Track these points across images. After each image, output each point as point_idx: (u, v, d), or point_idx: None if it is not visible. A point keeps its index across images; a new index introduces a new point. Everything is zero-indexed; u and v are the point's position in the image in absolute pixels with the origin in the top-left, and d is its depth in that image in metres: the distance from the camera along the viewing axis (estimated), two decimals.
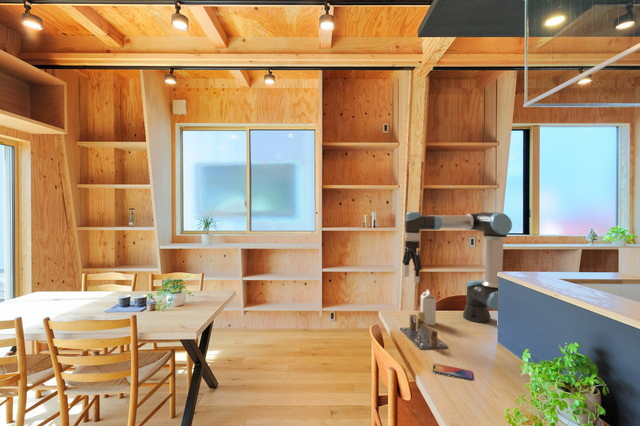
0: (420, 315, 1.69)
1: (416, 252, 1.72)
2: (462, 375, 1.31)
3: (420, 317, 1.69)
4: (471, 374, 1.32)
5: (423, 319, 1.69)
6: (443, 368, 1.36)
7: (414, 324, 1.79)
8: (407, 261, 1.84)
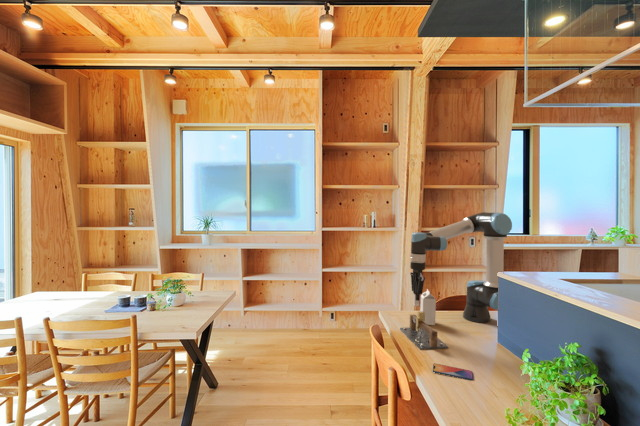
0: (420, 315, 1.69)
1: (421, 279, 1.69)
2: (462, 375, 1.31)
3: (420, 317, 1.69)
4: (471, 374, 1.32)
5: (423, 319, 1.69)
6: (443, 368, 1.36)
7: (414, 324, 1.79)
8: None
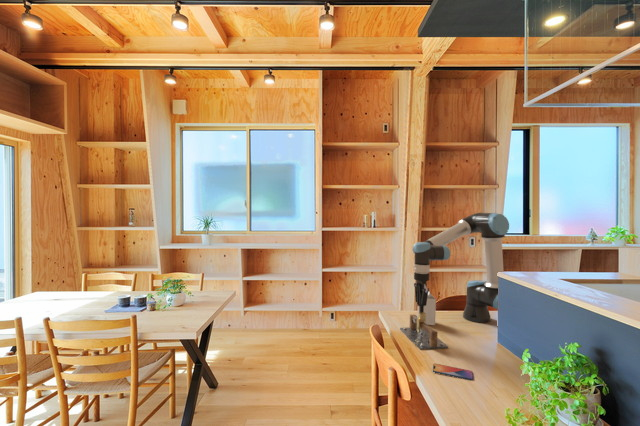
0: (421, 316, 1.68)
1: (425, 290, 1.65)
2: (462, 375, 1.31)
3: (421, 318, 1.68)
4: (471, 374, 1.32)
5: (424, 320, 1.68)
6: (443, 368, 1.36)
7: (414, 324, 1.79)
8: None
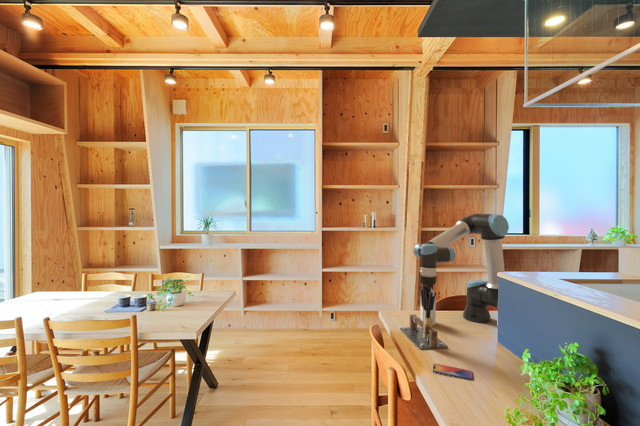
0: (427, 321, 1.61)
1: (432, 294, 1.58)
2: (462, 375, 1.31)
3: (427, 323, 1.61)
4: (471, 374, 1.32)
5: (431, 325, 1.61)
6: (444, 368, 1.36)
7: (414, 324, 1.79)
8: None
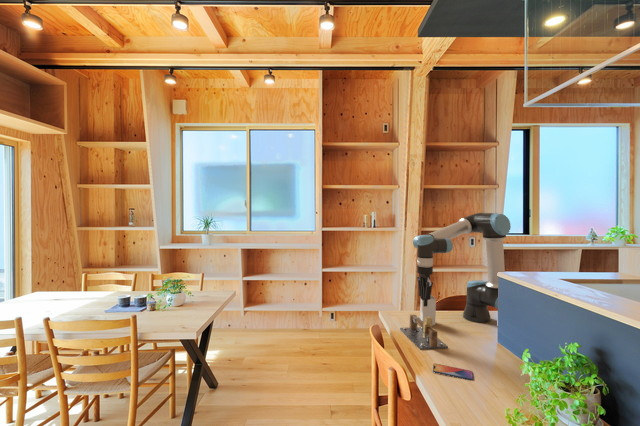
0: (427, 321, 1.61)
1: (429, 284, 1.61)
2: (462, 375, 1.31)
3: (427, 323, 1.61)
4: (471, 374, 1.32)
5: (430, 325, 1.61)
6: (444, 368, 1.36)
7: (414, 324, 1.79)
8: None
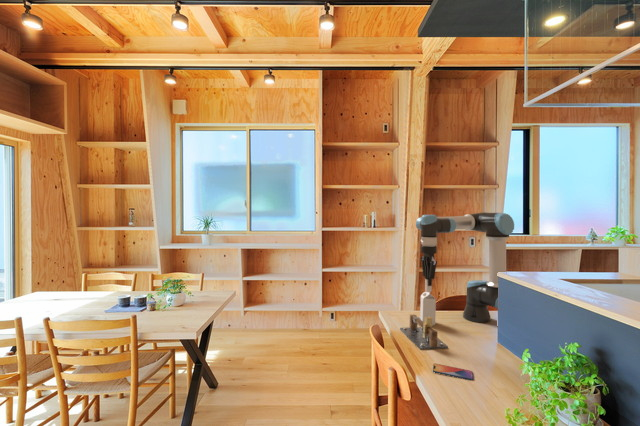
0: (427, 321, 1.61)
1: (433, 263, 1.61)
2: (462, 375, 1.31)
3: (427, 323, 1.61)
4: (471, 374, 1.32)
5: (430, 325, 1.61)
6: (444, 368, 1.36)
7: (414, 324, 1.79)
8: None
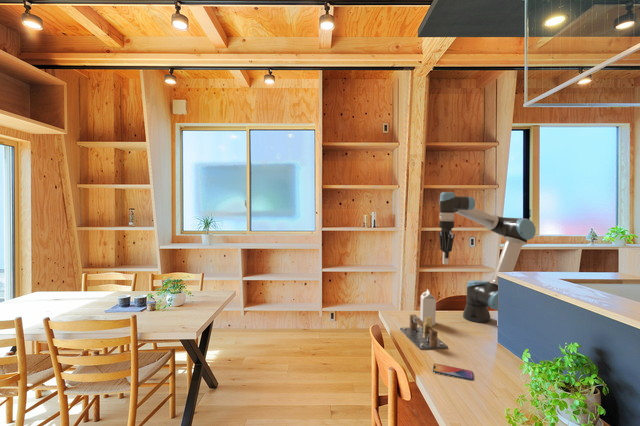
0: (427, 321, 1.61)
1: (451, 236, 1.74)
2: (462, 375, 1.31)
3: (427, 323, 1.61)
4: (471, 374, 1.32)
5: (430, 325, 1.61)
6: (444, 368, 1.36)
7: (414, 324, 1.79)
8: None
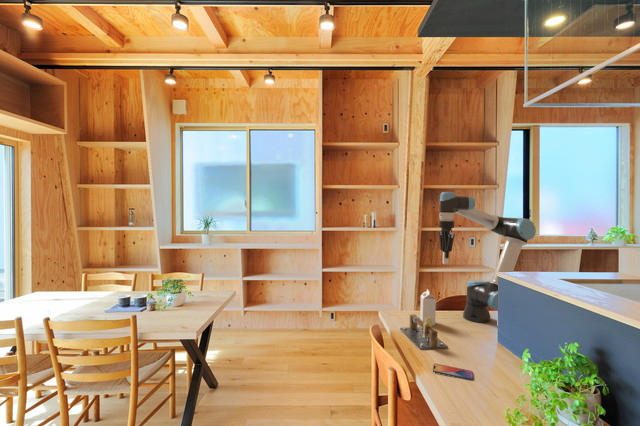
0: (427, 321, 1.61)
1: (451, 236, 1.74)
2: (463, 375, 1.31)
3: (427, 323, 1.61)
4: (471, 374, 1.32)
5: (430, 325, 1.61)
6: (444, 368, 1.36)
7: (414, 324, 1.79)
8: None
